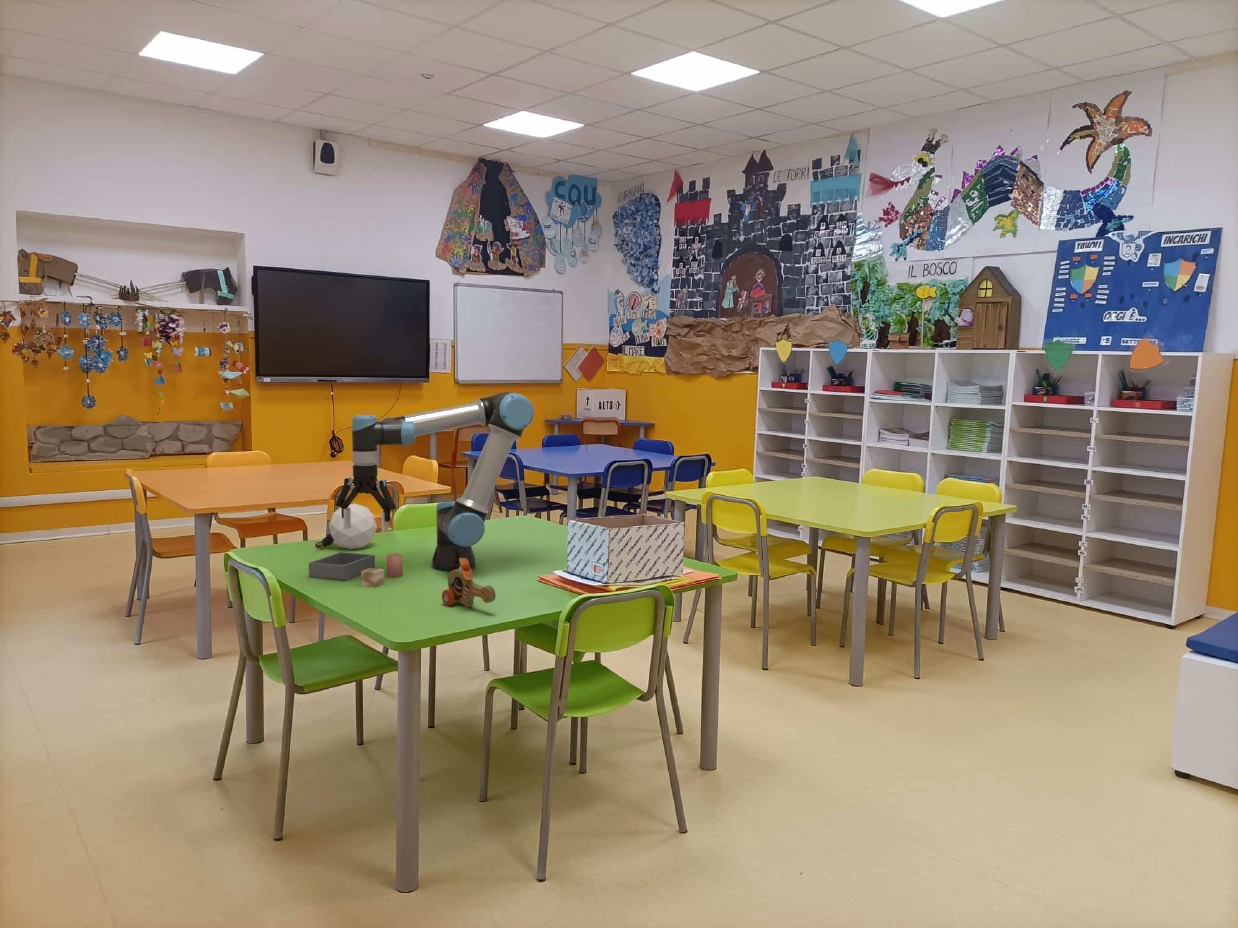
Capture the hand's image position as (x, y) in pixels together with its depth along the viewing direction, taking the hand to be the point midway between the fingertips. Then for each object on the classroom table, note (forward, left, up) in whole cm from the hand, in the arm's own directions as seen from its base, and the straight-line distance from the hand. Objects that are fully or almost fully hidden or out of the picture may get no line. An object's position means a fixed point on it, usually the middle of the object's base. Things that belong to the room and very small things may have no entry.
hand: (366, 530), depth 278 cm
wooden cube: (-3, +1, -18) cm, 18 cm away
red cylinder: (-3, -12, -18) cm, 21 cm away
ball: (+37, -43, -18) cm, 59 cm away
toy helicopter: (-43, +13, -18) cm, 48 cm away
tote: (+15, -9, -17) cm, 25 cm away
